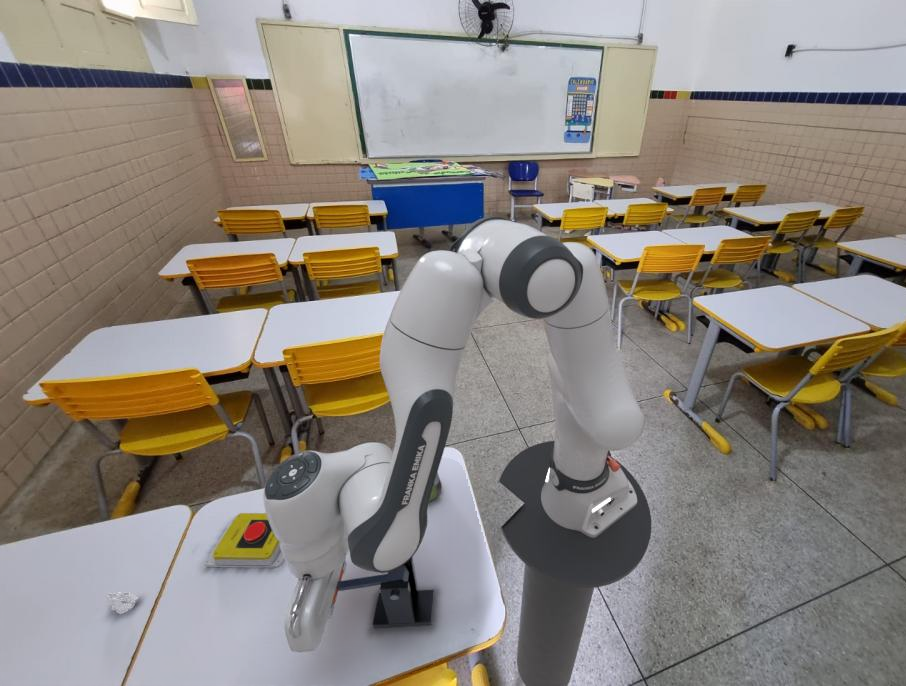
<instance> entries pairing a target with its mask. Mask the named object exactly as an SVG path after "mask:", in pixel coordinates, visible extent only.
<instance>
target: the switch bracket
mask: <svg viewBox="0 0 906 686" xmlns="http://www.w3.org/2000/svg"><path fill="white" fill-rule="evenodd" d="M404 565H405V566H406V568H407V570H408V572H409V576H408V581H400V582H381V585H379V591H380V592H378V594H377V600H376V604H375V610H374V614H373V615H374V616H373V620H372V628H373V629H383V628H402V627H421V626H432V623H433V622H432V621H433V612H434V600H435V590H434V589H422V590H421V589H419V585H418V580H417V573H416V568H415V562H414V556H413V557H412V558H411V559H410V560H409V561H408V562H406V563H405V564H404ZM404 565H402V566H404Z"/></svg>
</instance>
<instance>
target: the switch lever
mask: <svg viewBox="0 0 906 686" xmlns="http://www.w3.org/2000/svg"><path fill="white" fill-rule="evenodd" d="M343 573H344V570H343V569H342V570H341V573H340V577H339V580H338V583H337V587H336V590H335V594H334V597H333V600H332V602H333V603H334V606H335V604H336V600H337V597H338V593H339V592H344V591H350V590H357V589H362V588H369V587H376V586H380V585H381V582H400V581H408V576H409V572H408V570H407V568H406V566H405V565H404V566H401V567H399V568H398V569H396V570H393V571H391V572H387V573H382V574H377V575H371V576H365V577H358V578H351V579H344V580H342V579H343V576H344V574H345V573H344V574H343Z"/></svg>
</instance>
